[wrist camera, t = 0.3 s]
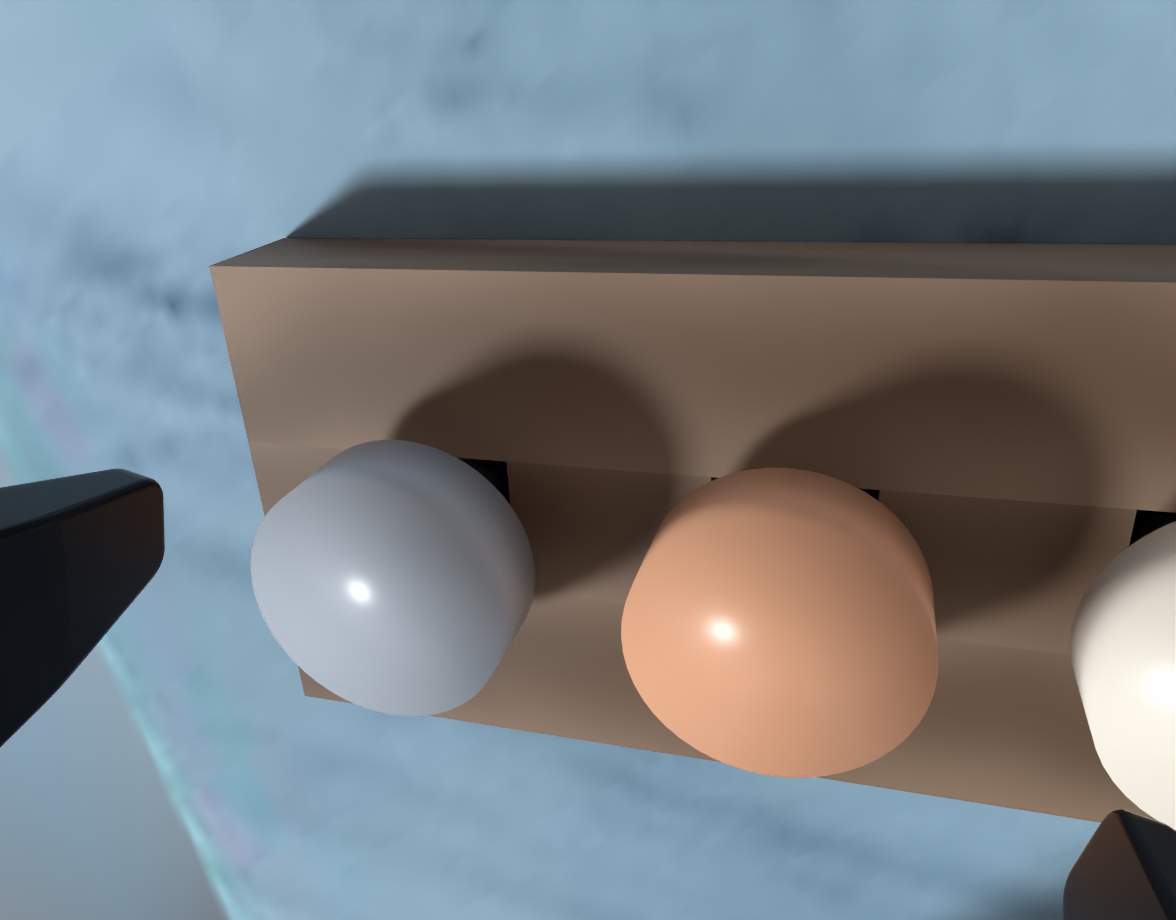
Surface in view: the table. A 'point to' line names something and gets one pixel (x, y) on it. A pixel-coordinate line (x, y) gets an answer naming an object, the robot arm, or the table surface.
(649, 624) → the terracotta button
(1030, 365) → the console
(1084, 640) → the cream button
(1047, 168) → the table surface
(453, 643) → the slate button
